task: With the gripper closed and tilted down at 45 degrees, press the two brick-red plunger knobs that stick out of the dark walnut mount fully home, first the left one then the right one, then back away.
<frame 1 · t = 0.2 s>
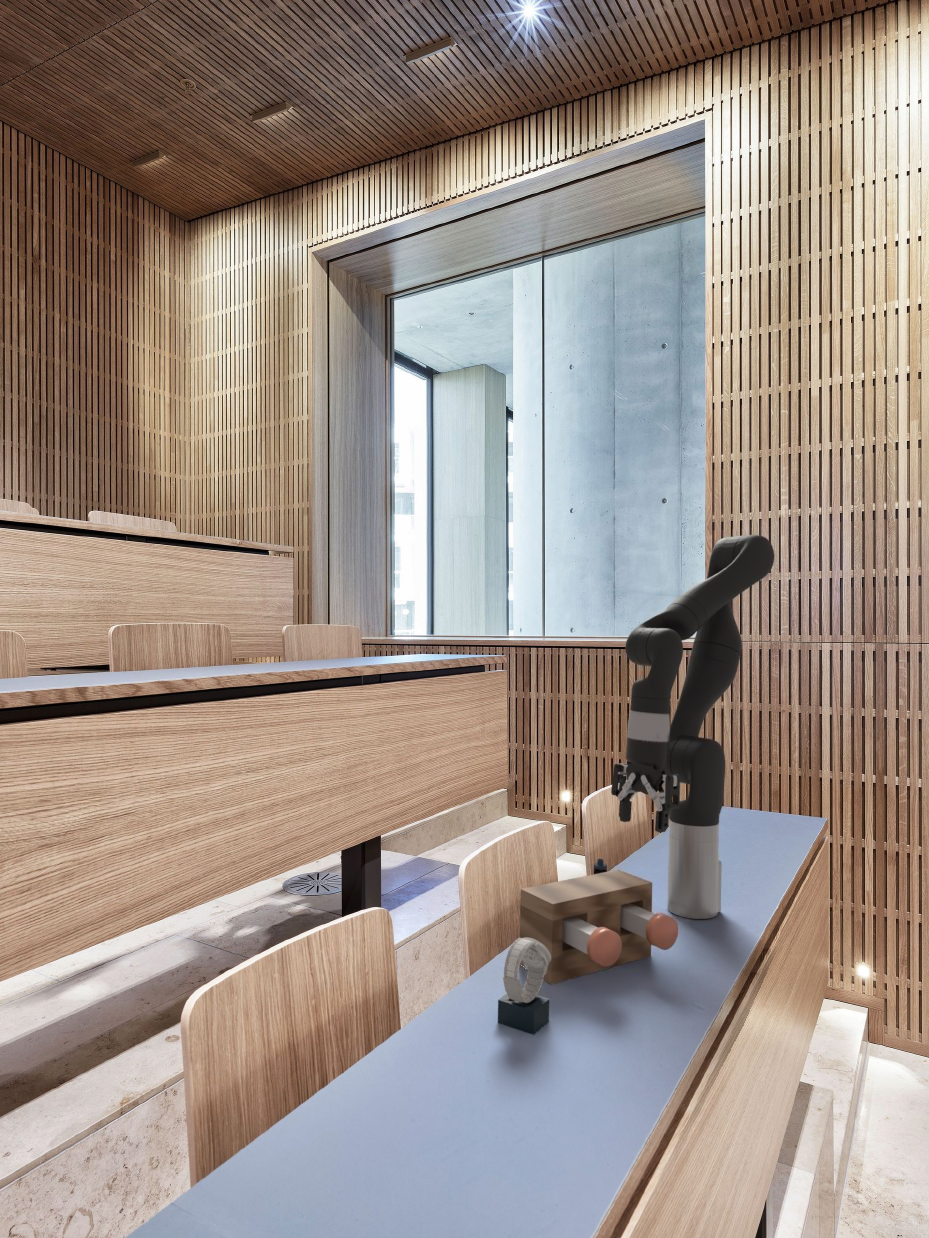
hand: (642, 826, 145), 18 cm above the table, tool pointing down, fingers open, 8 cm apart
vaping device: (591, 926, 144), on the table
mount: (586, 960, 128), on the table
knob b: (584, 936, 120), point 7 cm above the table, slide at 0.0 cm
watch: (523, 1023, 108), on the table
knob a: (642, 922, 126), point 7 cm above the table, slide at 0.0 cm
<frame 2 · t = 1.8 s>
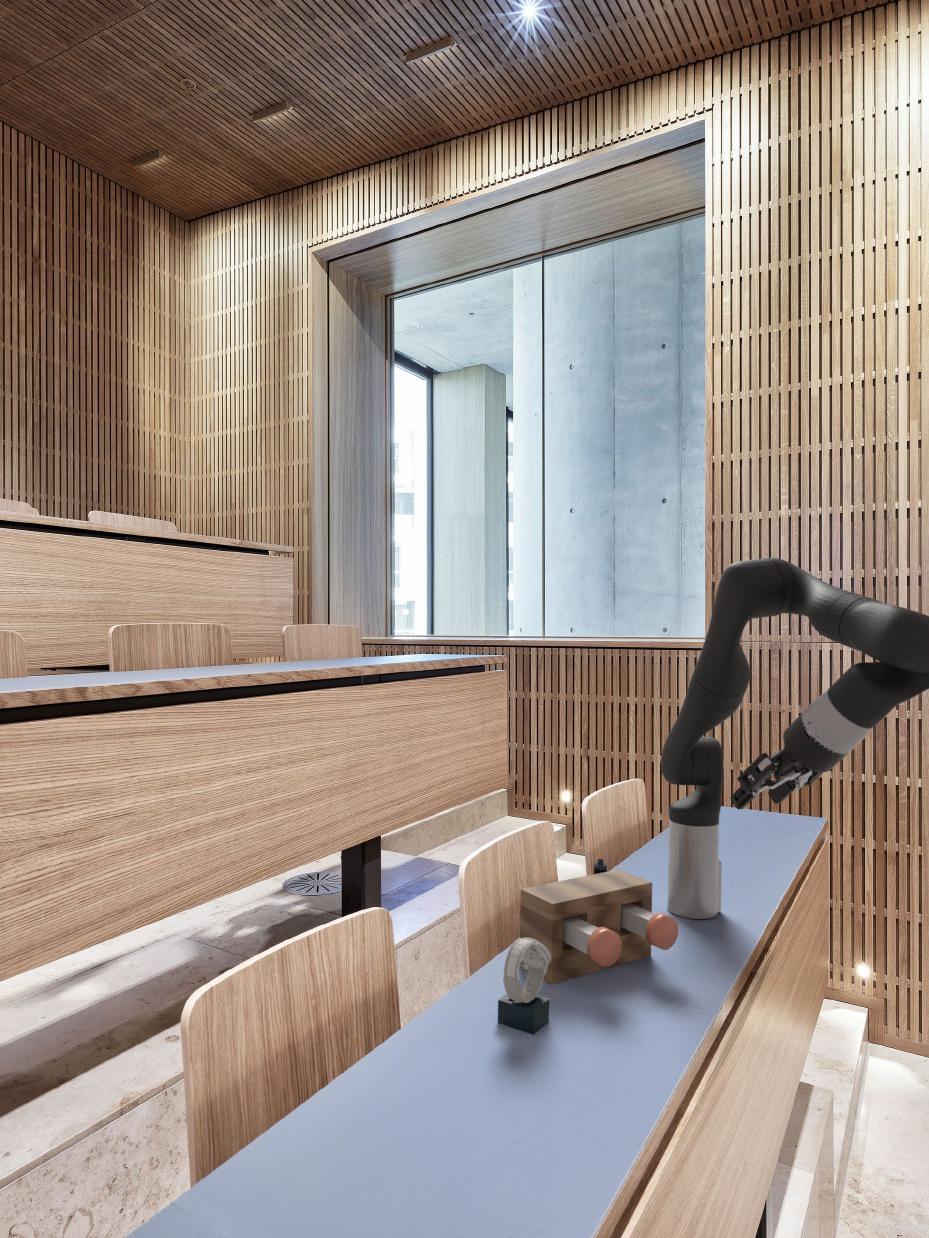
hand: (754, 801, 115), 29 cm above the table, tool tilted 45°, fingers open, 8 cm apart
nothing on the table moved.
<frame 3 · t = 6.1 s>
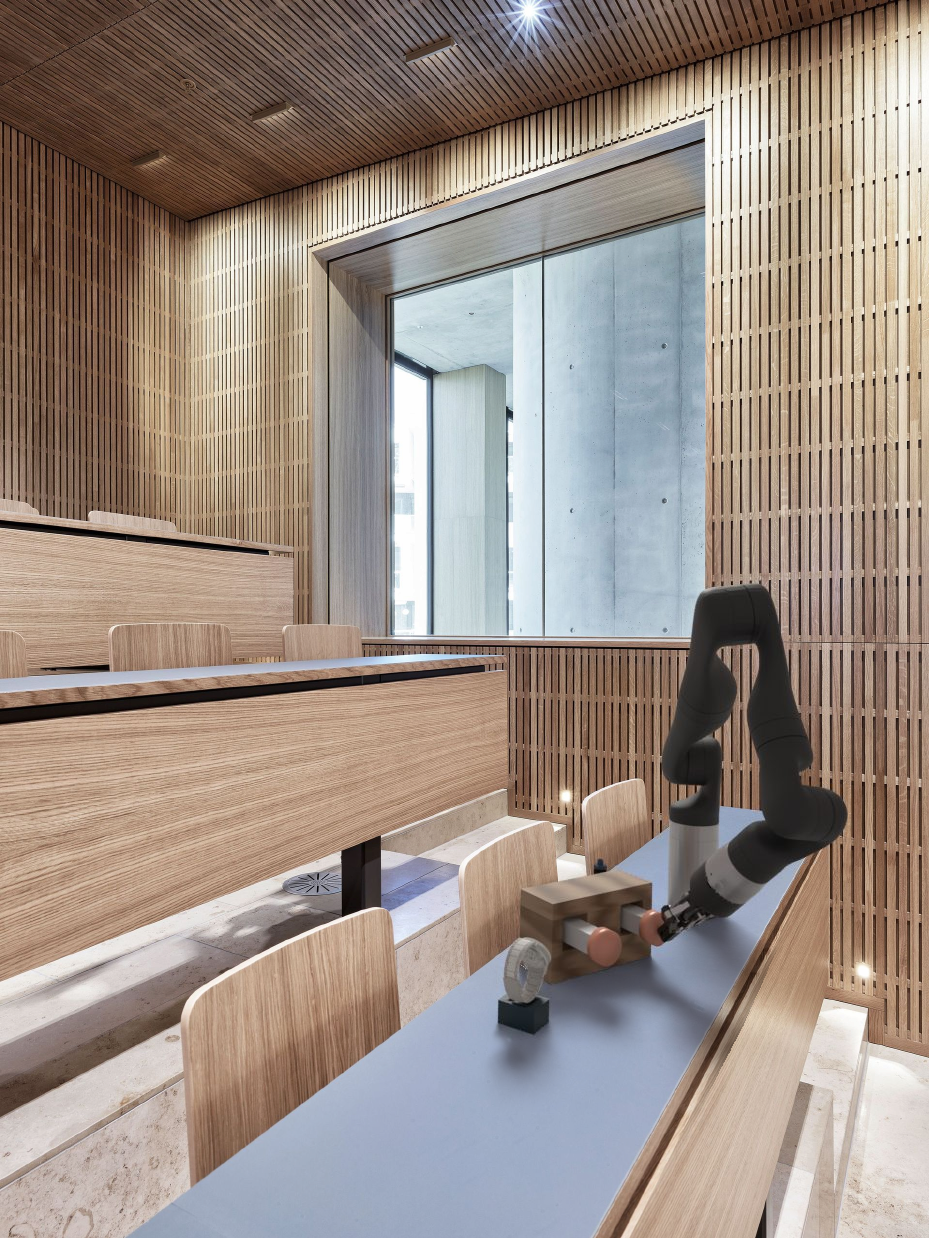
hand: (663, 935, 123), 6 cm above the table, tool tilted 45°, fingers closed
knob a: (635, 919, 128), point 7 cm above the table, slide at 1.5 cm, touching gripper
everything else where it was.
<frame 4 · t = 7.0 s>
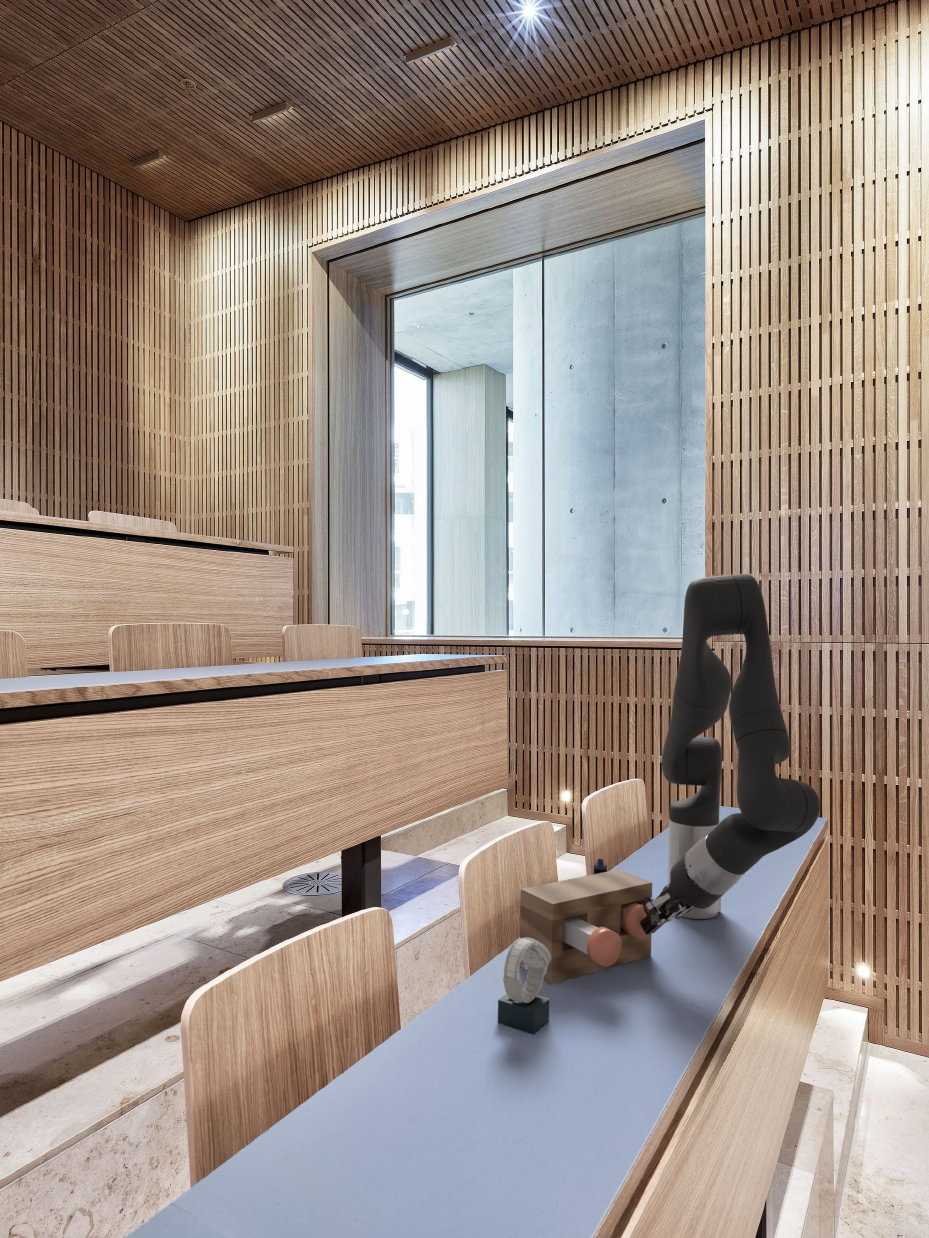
hand: (646, 928, 126), 6 cm above the table, tool tilted 45°, fingers closed
knob a: (619, 912, 131), point 7 cm above the table, slide at 5.1 cm, touching gripper
everything else where it was.
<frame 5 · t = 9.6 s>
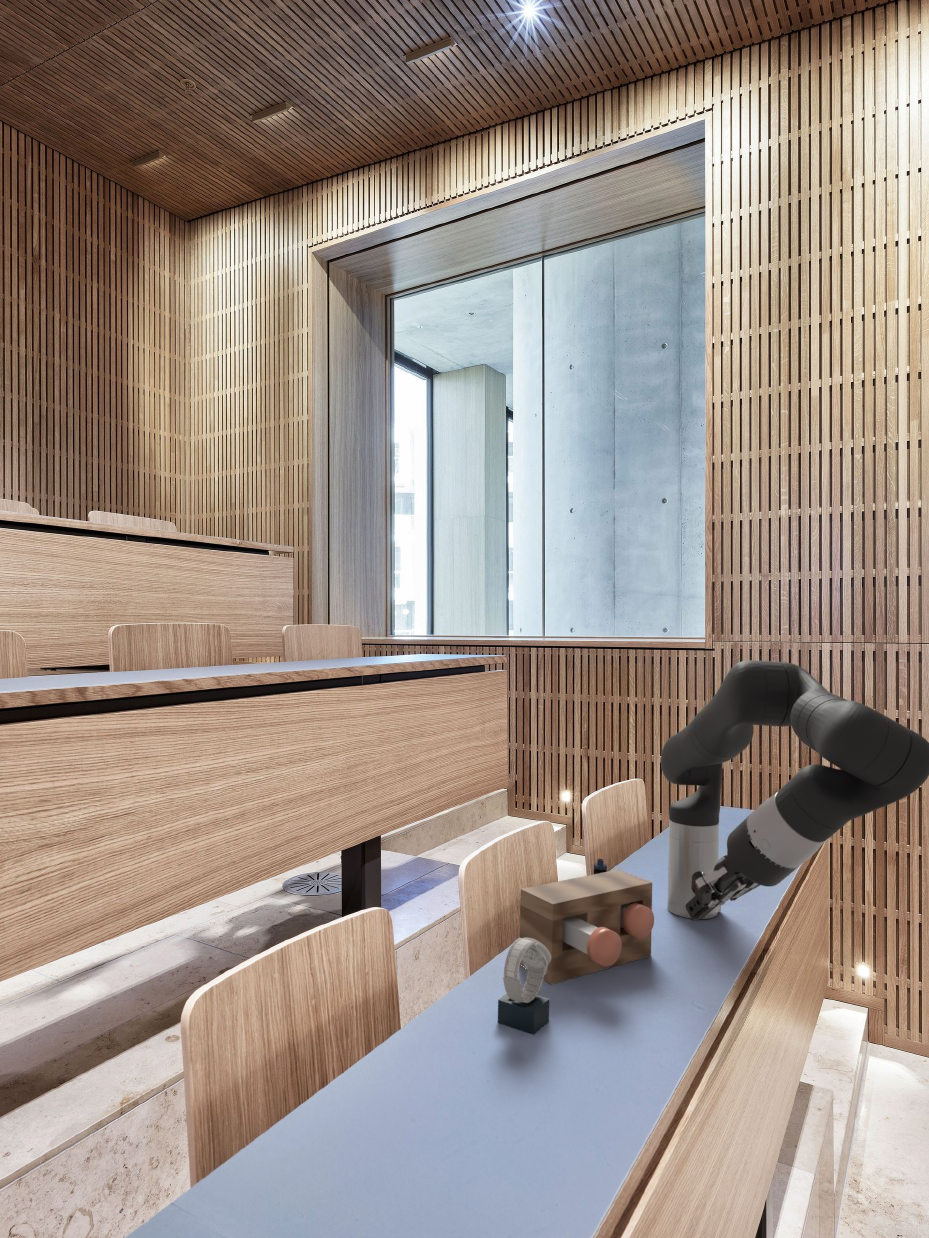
hand: (692, 912, 102), 17 cm above the table, tool tilted 45°, fingers closed
knob a: (619, 912, 131), point 7 cm above the table, slide at 5.1 cm
everything else where it was.
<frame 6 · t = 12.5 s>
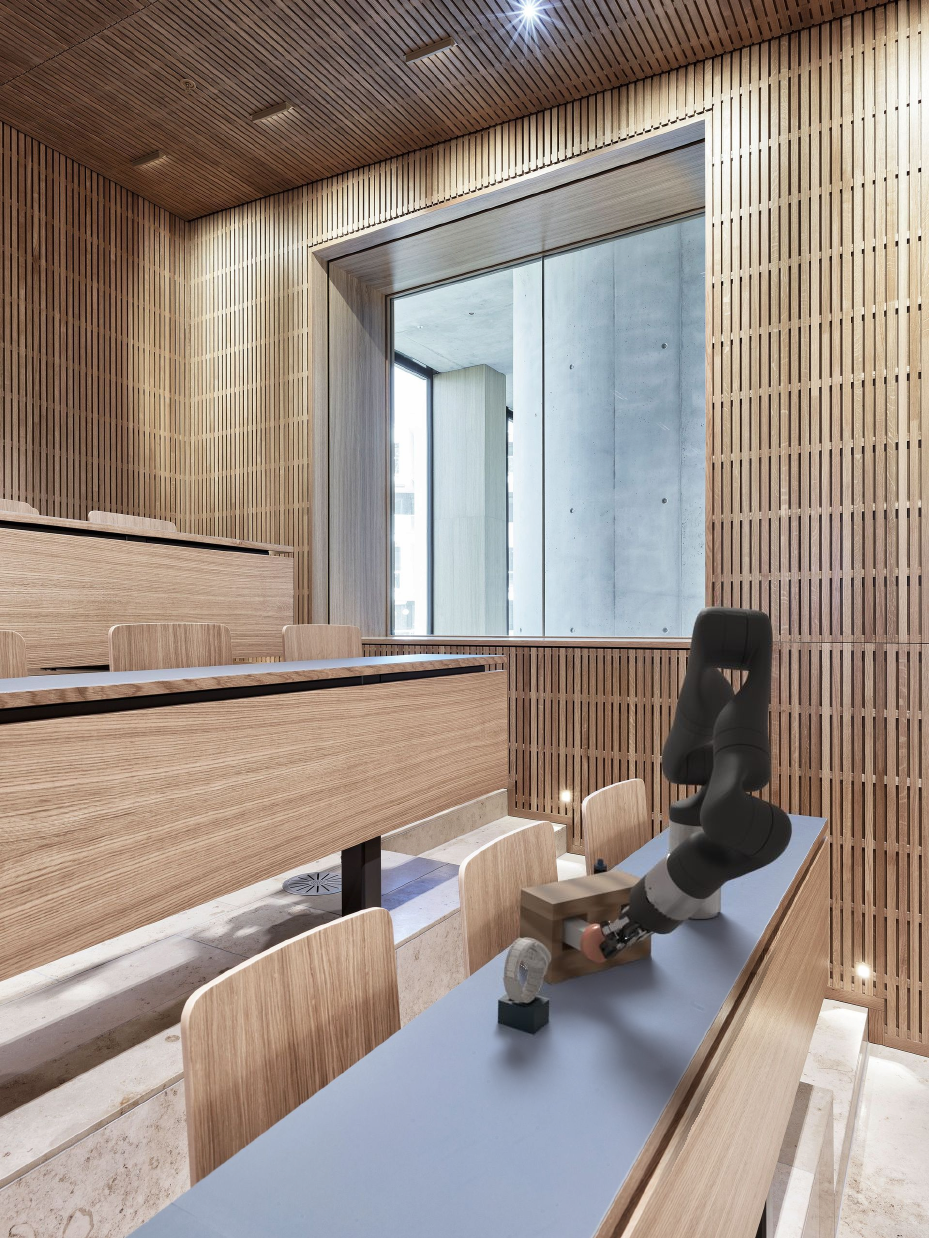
hand: (605, 952, 116), 6 cm above the table, tool tilted 45°, fingers closed
knob b: (578, 933, 121), point 7 cm above the table, slide at 1.5 cm, touching gripper
everything else where it was.
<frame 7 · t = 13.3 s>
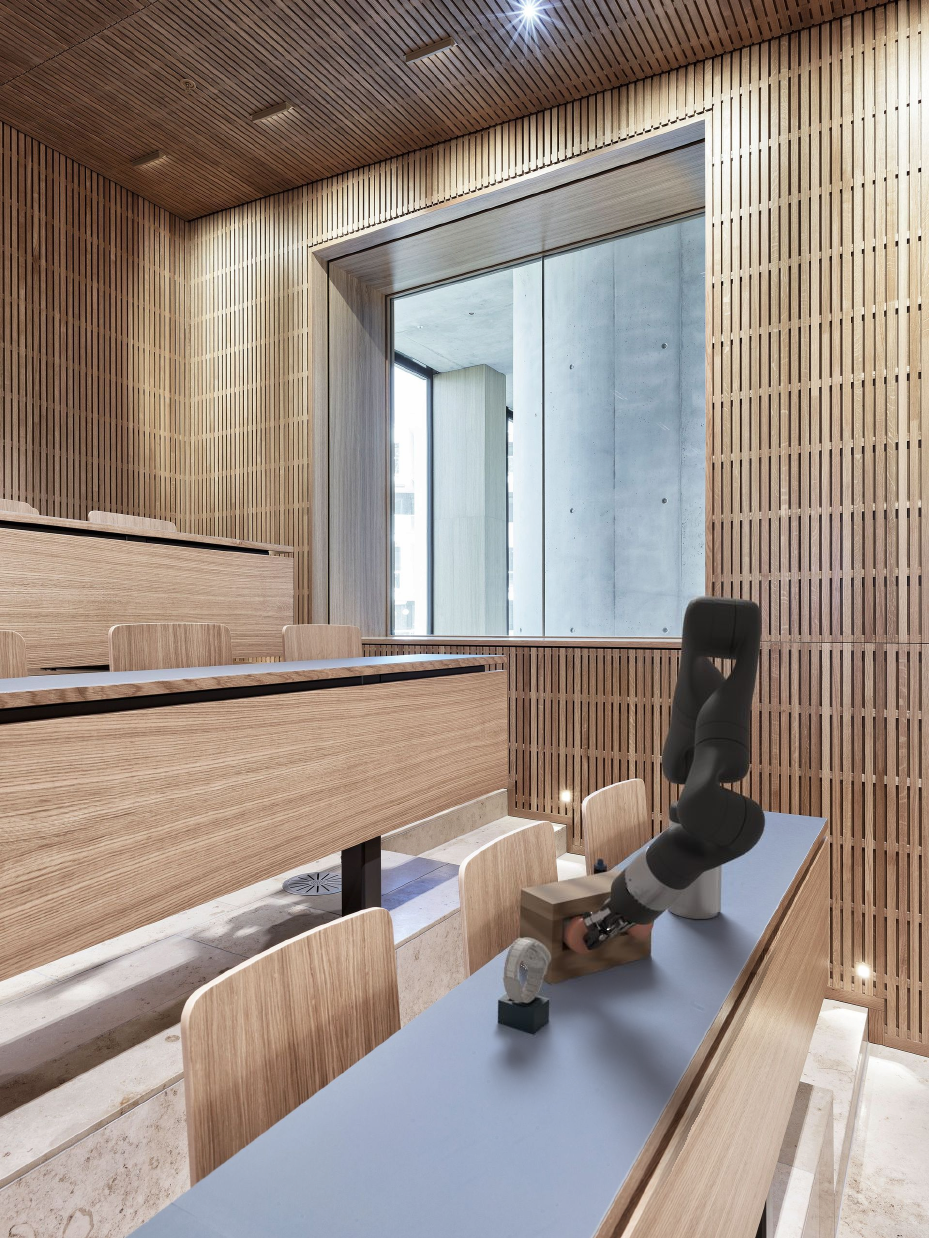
hand: (588, 943, 119), 6 cm above the table, tool tilted 45°, fingers closed
knob b: (563, 925, 124), point 7 cm above the table, slide at 5.1 cm, touching gripper
everything else where it was.
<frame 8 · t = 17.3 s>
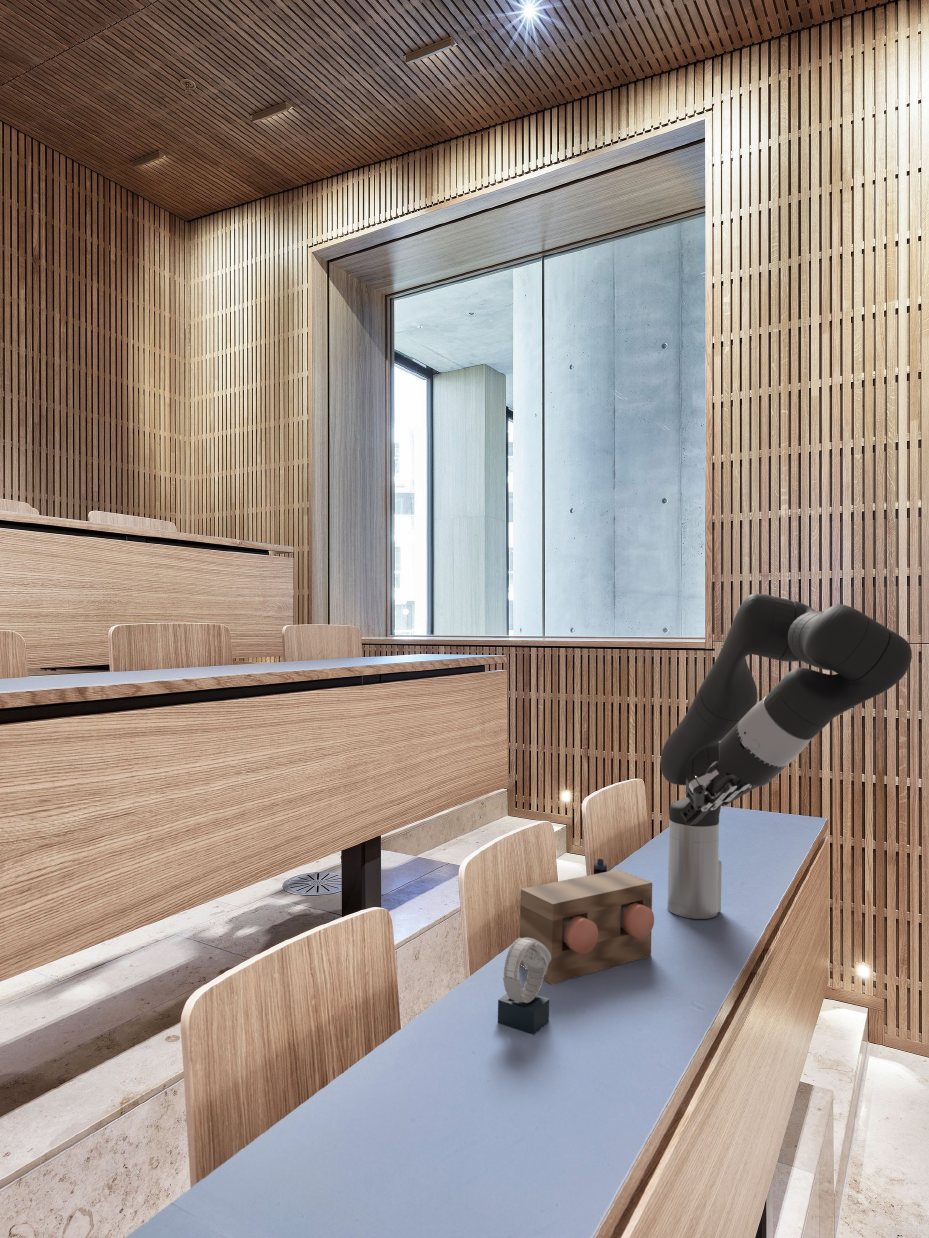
hand: (686, 819, 108), 28 cm above the table, tool tilted 45°, fingers closed
knob b: (563, 925, 124), point 7 cm above the table, slide at 5.1 cm
everything else where it was.
at the end: knob a slide at 5.1 cm; knob b slide at 5.1 cm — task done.
